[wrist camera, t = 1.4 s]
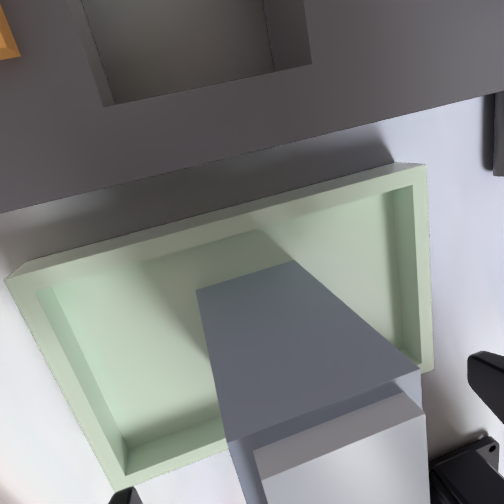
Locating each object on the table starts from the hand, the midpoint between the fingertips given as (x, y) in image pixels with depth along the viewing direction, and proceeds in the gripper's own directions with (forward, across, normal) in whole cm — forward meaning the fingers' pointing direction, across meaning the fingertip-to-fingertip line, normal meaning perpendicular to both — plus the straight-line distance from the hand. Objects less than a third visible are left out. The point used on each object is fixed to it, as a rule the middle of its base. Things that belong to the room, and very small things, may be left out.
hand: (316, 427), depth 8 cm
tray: (+6, 0, 0) cm, 6 cm away
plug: (+6, 0, 0) cm, 6 cm away
